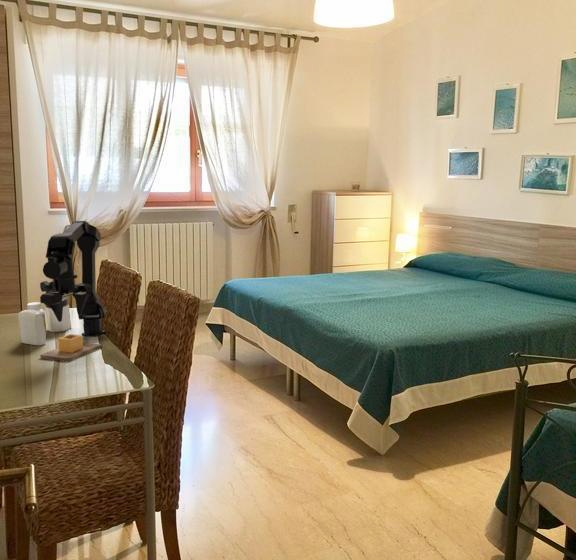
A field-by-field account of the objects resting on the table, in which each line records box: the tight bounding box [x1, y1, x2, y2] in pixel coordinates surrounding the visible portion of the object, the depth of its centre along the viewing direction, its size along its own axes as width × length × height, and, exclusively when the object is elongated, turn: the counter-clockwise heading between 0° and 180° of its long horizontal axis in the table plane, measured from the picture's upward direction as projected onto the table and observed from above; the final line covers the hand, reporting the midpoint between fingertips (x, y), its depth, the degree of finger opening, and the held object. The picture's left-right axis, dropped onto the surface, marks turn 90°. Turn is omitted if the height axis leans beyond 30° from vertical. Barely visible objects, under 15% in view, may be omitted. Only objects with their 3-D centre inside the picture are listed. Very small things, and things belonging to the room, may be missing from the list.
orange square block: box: [57, 333, 84, 352], centre depth 205 cm, size 5×5×4 cm
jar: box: [44, 296, 72, 333], centre depth 235 cm, size 9×8×12 cm
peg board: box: [39, 334, 103, 363], centre depth 205 cm, size 16×12×6 cm
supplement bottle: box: [26, 301, 48, 336], centre depth 226 cm, size 7×7×13 cm
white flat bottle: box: [17, 309, 47, 346], centre depth 218 cm, size 10×4×12 cm, turn 60°
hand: (70, 317), depth 206 cm, fingers open, 9 cm apart
